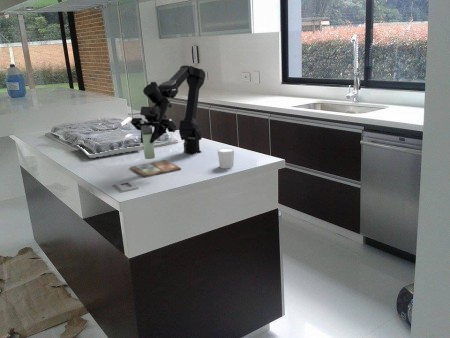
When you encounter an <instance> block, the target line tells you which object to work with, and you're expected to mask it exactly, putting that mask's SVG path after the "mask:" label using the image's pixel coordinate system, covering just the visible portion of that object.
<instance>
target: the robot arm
mask: <svg viewBox="0 0 450 338" xmlns="http://www.w3.org/2000/svg"><path fill="white" fill-rule="evenodd" d="M205 79H206V72H205V71H204V70H203V69H202V68H197V67H194V66H192V65H186V64H185V65H181V66H180V67H179V69H178V70H177V71H176V72H175V73H174V75H172V76H171V77H170V79H169V80H166V81H164V82H162V83H161V84H159V85H158V83H157V82H156V81H151V82H150V83H149V84H147V85H146V86H145V87H144V88H143V90H142V92H143V94H144V95H145V97H146V98H147V99H148V101H149V102H150V104H151V103H152V104H153V105H152V106H141V107H140V113H139V115H140V116H144V119H145V120H144V119H142V117H133V118H131V121H130V124H131V125H132V126H133V127H134V128H135V129H136V130H137V131H140V143H141V144H143V137H142V130H141V126H143V125H152V128H153V130H152V132H153V133H152V136H151V139H150V143H153V144H154V142H155V141H156V140H158V139H160V137H162V136H163V135H164V134H167V132H169V133H175V132H176V129H177V126H176V124H175V122H174V121H173V120H172V118H167V115H166V113H167V111H168V108H172V103H171V100H169V99H175V98H176V96H177V95H178V93H179V87H180V86H181V85H183V83H184V82H185V81H186V83H187V86H188V91H187V92H188V93H187V99H186V100H187V101H186V107H185V114H184V118H183V119H181V120H180V121H179V128H178V132H179V136H180V140H181V141H183V153H186V155H193V154H199V153H202V150H200V141H201V140H202V138H203V134H202V132H201V131H200V130H199V123H198V122H197V111H198V104H199V103H198V102H199V93H200V89H201V88H202V87H203V85H204V83H205Z"/></svg>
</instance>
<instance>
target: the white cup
mask: <svg viewBox="0 0 450 338" xmlns="http://www.w3.org/2000/svg"><path fill="white" fill-rule="evenodd" d="M217 156H218V158H217V159H218V162H219V163H218V164H219V165H218V166H219V168H221V169H231V168H233V167H234V163H235V162H234V159H235V157H234V156H235V149H234V148H229V147H227V148H225V147H224V148H220V149H217Z"/></svg>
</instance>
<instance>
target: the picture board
mask: <svg viewBox="0 0 450 338" xmlns="http://www.w3.org/2000/svg"><path fill="white" fill-rule="evenodd" d="M129 169H130V170H132V171H133V172H135V173H136V174H138V175H139V176H141V177H143V178H148V177H153V176H159V175H163V174H167V173H173V172H176V171H177V172H178V171H181V170H182V168H181V167H179V166H177V165H176V164H174V163H172V162H170V161H168V160H166V159H163V160H159V161H153V162H148V163H143V164H142V163H141V164H138V165H133V166H130V168H129Z"/></svg>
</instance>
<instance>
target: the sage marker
mask: <svg viewBox="0 0 450 338" xmlns="http://www.w3.org/2000/svg"><path fill="white" fill-rule="evenodd" d="M141 130H142V137H143V143H142V145H143V154H144V159H145V160H153V159H155V158H156V156H155V154H156V153H155V145H154V142H153V143H150V139H151V136H152V134H153V127H152V125H143V126H141ZM141 130H140V131H141Z"/></svg>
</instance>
